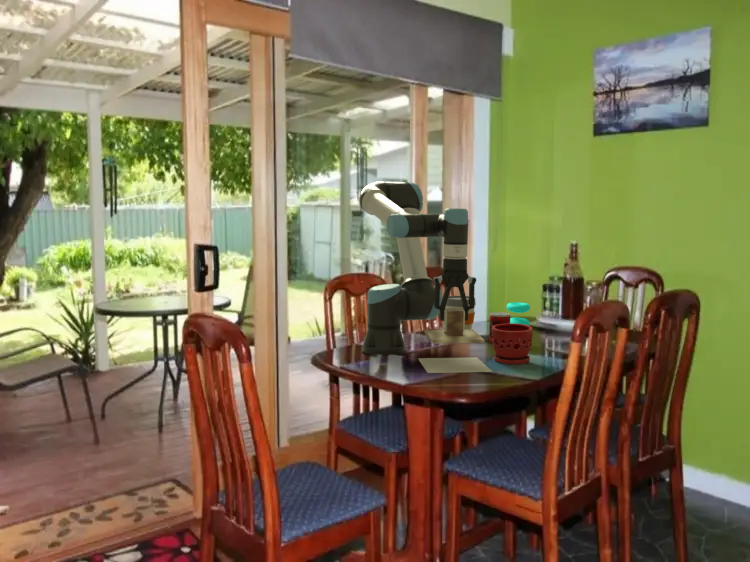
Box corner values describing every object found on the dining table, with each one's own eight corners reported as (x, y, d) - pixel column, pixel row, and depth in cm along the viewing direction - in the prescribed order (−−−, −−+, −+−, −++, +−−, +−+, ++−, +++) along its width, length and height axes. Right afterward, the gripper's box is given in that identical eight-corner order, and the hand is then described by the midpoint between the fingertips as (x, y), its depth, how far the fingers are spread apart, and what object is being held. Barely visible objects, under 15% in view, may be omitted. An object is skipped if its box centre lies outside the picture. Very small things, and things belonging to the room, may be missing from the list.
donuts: (504, 304, 286) (508, 301, 295) (503, 327, 287) (508, 324, 296) (528, 305, 282) (532, 302, 291) (527, 329, 283) (531, 325, 292)
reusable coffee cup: (437, 335, 268) (438, 298, 267) (451, 331, 279) (452, 294, 277) (467, 339, 262) (467, 300, 260) (480, 334, 272) (480, 297, 271)
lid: (432, 343, 207) (433, 314, 206) (424, 332, 223) (425, 305, 222) (484, 342, 209) (485, 313, 208) (472, 332, 225) (473, 305, 223)
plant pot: (486, 358, 228) (487, 323, 227) (524, 357, 229) (525, 322, 228) (497, 367, 215) (497, 330, 214) (537, 366, 216) (538, 329, 215)
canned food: (508, 340, 259) (509, 312, 258) (510, 344, 251) (511, 315, 250) (488, 340, 260) (489, 311, 259) (489, 344, 252) (490, 315, 251)
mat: (427, 374, 206) (427, 372, 206) (417, 359, 226) (417, 358, 226) (492, 373, 208) (492, 371, 207) (477, 358, 227) (477, 357, 227)
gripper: (428, 258, 208) (427, 333, 211) (486, 258, 210) (484, 332, 213) (424, 256, 216) (423, 328, 219) (480, 256, 217) (478, 328, 220)
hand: (453, 330), depth 216 cm, fingers closed on lid, 5 cm apart
